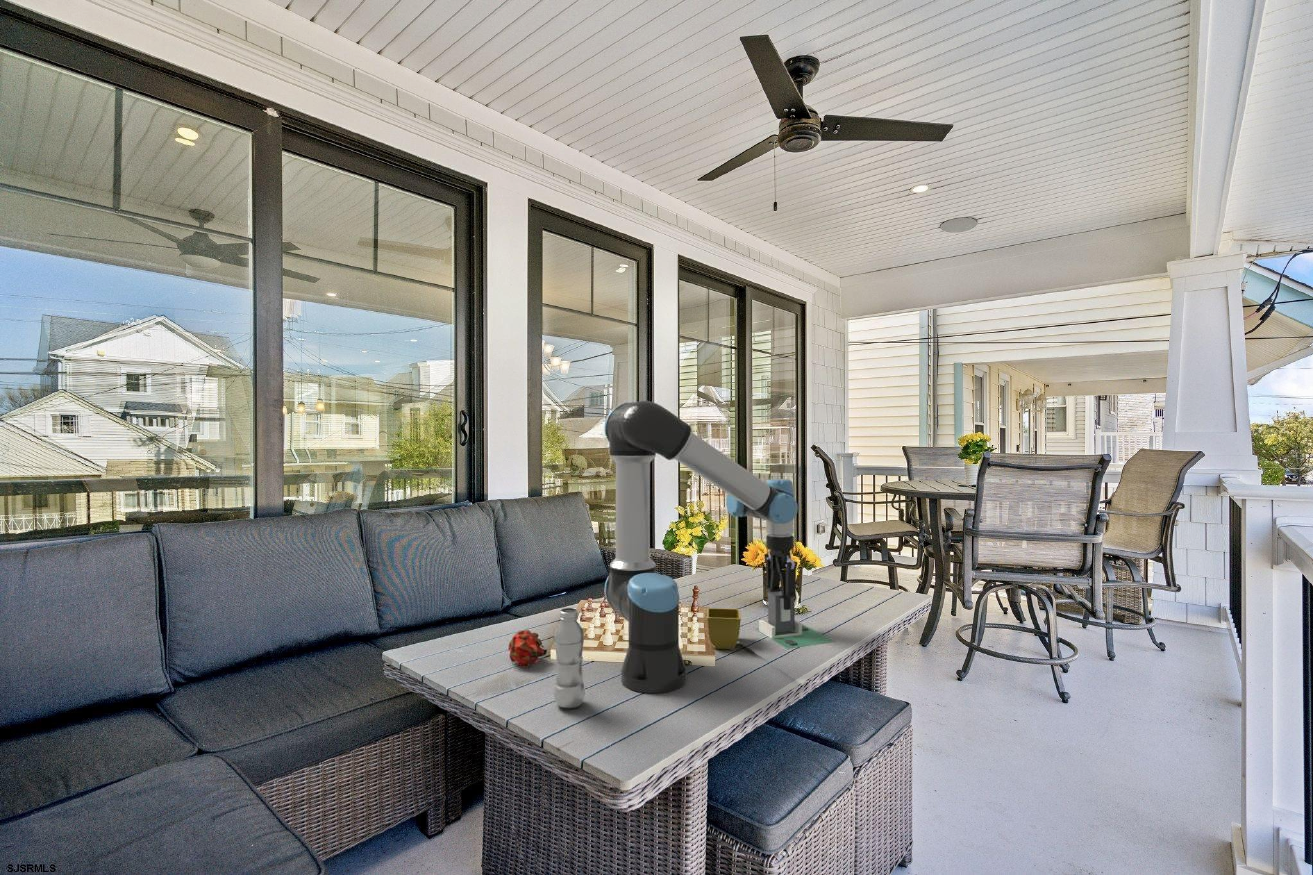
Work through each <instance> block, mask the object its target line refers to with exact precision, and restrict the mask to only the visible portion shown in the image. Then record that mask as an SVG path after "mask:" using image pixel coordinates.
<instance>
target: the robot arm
mask: <svg viewBox="0 0 1313 875" xmlns="http://www.w3.org/2000/svg"><path fill="white" fill-rule="evenodd" d="M603 429H604V433H605V434H604V435H605V436H606V439H607V441H608V442H609V457H610V459H611V460H612V461H614V463H615V558H614V559H613V560H612V562H610V563H609V575H608V576H607V578H606V580H605V584H604V596H605V599H606V601H607V604H608V605H609V606H610V608H611V609H612V610H613V611H614V612H615V613H616V614H617V615H619V616H621V617H622V618H623V619H625V620H626V621H627V624H628V629H627V632H628V647H627V651H626V654H625V657H624V660H623V663H622V666H621V670H620V671H621V672H620V681H621V683H622V685H623V686H624V687H626V688H628V689H630V690H632V691H635V692H641V693H648V694H656V693H657V694H659V693H660V694H661V693H667V692H673V691H676V690H677V689H680V688H681V687H683V686H684V685H686V682H687V680H688V678H687V667H686V665H685V662H684V658H683V655H682V652H681V649H680V645H679V644H680V643H679V642H680V638H679V636H680V634H679V633H680V632H679V631H680V630H679V629H680V627H679V625H680V624H679V622H680V619H679V618H680V614H679V612H680V611H679V610H680V605H679V604H680V593H679V586H678V583H677V582H676V581H675V579H674V578H672V577H671V576H669V575H666V574H661V573H657V569H656V568H657V567H656V566H657V565H656V562H655V561H654V560H653V559H652V558H651V556H650V555H651V550H650V548H651V545H650V544H651V541H650V540H651V537H650V536H651V533H650V532H651V531H650V528H651V525H650V522H651V519H650V518H651V516H650V515H651V512H650V511H651V507H650V506H651V505H650V504H651V499H650V497H651V496H650V495H651V494H650V493H651V490H650V489H651V488H650V484H651V482H650V481H651V478H650V477H651V475H650V474H651V467H650V466H651V462H652V461H653V460H654V459H655V458H656V457H657V456H656V455H660V456H661V457H663V458H665V459H666V460H668V461H673V460H676V461H677V462H678V463H680V464H682V465H683V466H684V467H686V468H687V469H689V470H690V471H692V472H694V473H695V474H697V475H698V476H700V477H701V478H703V480H706V481H707V482H709V483H710V484H713V485H714V486H715V487H717V488H718V489H720V490H721V491H723V492H725V493H726V498H725V506H726V510H727V512H728V514H729V515H730V516H732V517H734V518H735V517H740V518H743V517H752V518H756V519H759V520H765V533H766V534H767V535H766V536H765V537H766V542H765V543H766V544H765V545H766V549H768V550H769V553H764V555H763V556H764V561H765V585H766V586H765V587H766V589H769V592H776V591H782V596H780V621H781V622H784V621H790V608H791V605H790V604H791V601H790V599H791V597H794V598H795V597H796V596H797V595H796V592H797V590H796V589H797V587H796V586H797V567H798V562H797V561H796V560H795V561H793V560H792V556H791V551H792V550H793V549H794V548H795V536H794V535H793V534H794V530H795V529H794V520H795V518H796V517H797V514H798V510H799V508H798V507H799V506H798V502H797V500H796V499H795V494H794V483H793V482H792V480H791V479H787V478H771V479H767V480H766V481H763V480H762V479H760V478H759V477H758V476H756V475H754V474H753V473H752V472H750V471H749V470H747V469H746V468H745V467H743V466H741V465H740V464H739V463H738V462H736V461H735V460H733V459H731V458H730V457H728V456H727V455H725V453H722V452H721V451H720V450H718V449H717V448H715V446H713V445H711V444H709V443H708V442H707V441H705V440H704V439H702V438H701V437H699V436H698V435H697V434H695V433H694V432H693V428H692V426H691V425H690V424H688V423H687V422H685V421H684V420H682V419H681V418H680V417H678V416H677V415H676V414H674V413H672V412H671V411H670V410H668V409H666V408H665V407H663V406H662V405H660V404H659V403H656V402H653V401H650V400H639V401H633V402H632V401H631V402H624V403H621V404H620V405H617V406H616V407H614V408H613V409H612V410H611V411H610V412H609V413H608V415H607V416H606V419H605V421H604V426H603Z"/></svg>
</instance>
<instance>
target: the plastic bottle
mask: <svg viewBox="0 0 1313 875" xmlns="http://www.w3.org/2000/svg"><path fill="white" fill-rule="evenodd" d="M578 611H579V610H578V609H577V608H576V607H565V608H561V609H560V611H559V612H560V613H559V614H560V615H559V620H560V623H559V624H558V626H556V628H555V631H554V634H553V643H554V648H555V656H556V676H555V678H556V679H555V684H554V685H555V686H554V692H553V693H554V694H553V695H554V701H555V703H556V705H557V706H558V707H559V708H563V709H576V708H577V707H579V706H582V704H583V702H584V700H585V697H586V688H585V683H584V677H583V650H584V649H583V648H584V641H585V632H584V629H583V627H582V626H581V625H580V623H579V622H578V619H579V615H578V614H579V613H578Z"/></svg>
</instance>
